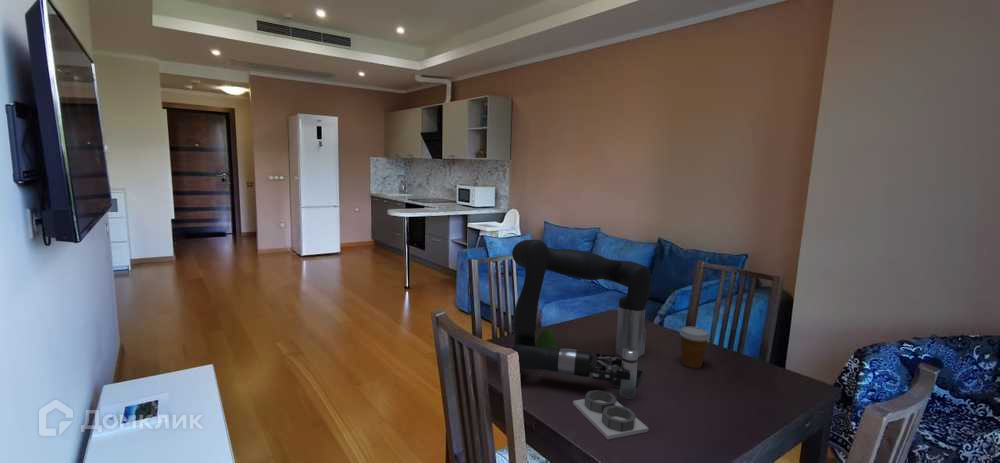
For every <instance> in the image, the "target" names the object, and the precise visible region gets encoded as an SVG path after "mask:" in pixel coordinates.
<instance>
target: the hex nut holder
mask: <svg viewBox="0 0 1000 463" xmlns="http://www.w3.org/2000/svg"><path fill="white" fill-rule="evenodd" d="M572 405H573V406H574V407H575V408H576V409H577V410H578V411H579V412H580V413H581V414H582V415H583V416H584V417H585V418H586V419H587V421H589V423H591V424H592V426H594V428H596V429H597V430H598V432H599V433H600V434H602V435H603V436H604V437H605V439H607V440H611V439H612V440H613V439H617V438H623V437H628V436H634V435H640V434H643V433H649V427H648V426H647V425H646V424H644V423H643V422H642V421H641V420H640V419H638V418H637V417H636V416H637V414H636V413H635V412H633V411H632V410H631V409H630V408H628V407H625V406H623V405H622V403H619V401H617V397H616V396H615V395H613V393H611V392H610V391H605V390H602V389H595V390H589V391H587V392H586V394H585V396H584V398H582V399H576V400H573V401H572Z"/></svg>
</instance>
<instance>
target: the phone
mask: <svg viewBox="0 0 1000 463" xmlns="http://www.w3.org/2000/svg"><path fill="white" fill-rule="evenodd" d="M617 370H620V371H621V367H619V368H618V369H617ZM644 374H645V373H644V370H643V371H642V370H640V369H637V377H636V388H637V387H638V385H639V384H640V382H641V380H642V378H643V376H644ZM620 381H621V379H617V378H616V379H614V380H613V382H609V381H608V387H611V388H615V389H619V390H620Z"/></svg>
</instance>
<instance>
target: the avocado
mask: <svg viewBox="0 0 1000 463" xmlns="http://www.w3.org/2000/svg"><path fill="white" fill-rule="evenodd" d="M557 342H558V341H557V338H556V335H555V333H554V330H552V329H550V328H549V329H547V328H546V329H544V330H542V332H540V334H539V336H538V338H537V339H536V340H535V347H538V348H543V347H554V348H559V346H558V343H557Z"/></svg>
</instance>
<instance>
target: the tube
mask: <svg viewBox="0 0 1000 463" xmlns="http://www.w3.org/2000/svg"><path fill="white" fill-rule="evenodd" d="M621 359H622V367H621V371H627V372H630V380H624V379H621V381H620V389H619V397H621V398H623V399H625V400H633V399H635V398H636V389H637V387H636V377H637V370H638V362H639V357H638V350H637V349H634V348H623V354H622V356H621Z"/></svg>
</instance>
